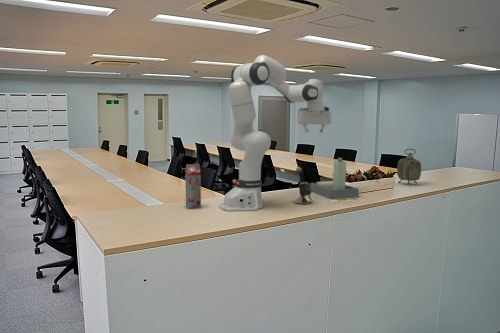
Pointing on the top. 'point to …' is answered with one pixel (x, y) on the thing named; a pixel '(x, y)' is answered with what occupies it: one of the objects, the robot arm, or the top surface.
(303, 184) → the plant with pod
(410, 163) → the tabletop clock
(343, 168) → the drink bottle
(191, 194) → the juice carton
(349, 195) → the tray
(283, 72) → the robot arm
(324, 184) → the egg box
